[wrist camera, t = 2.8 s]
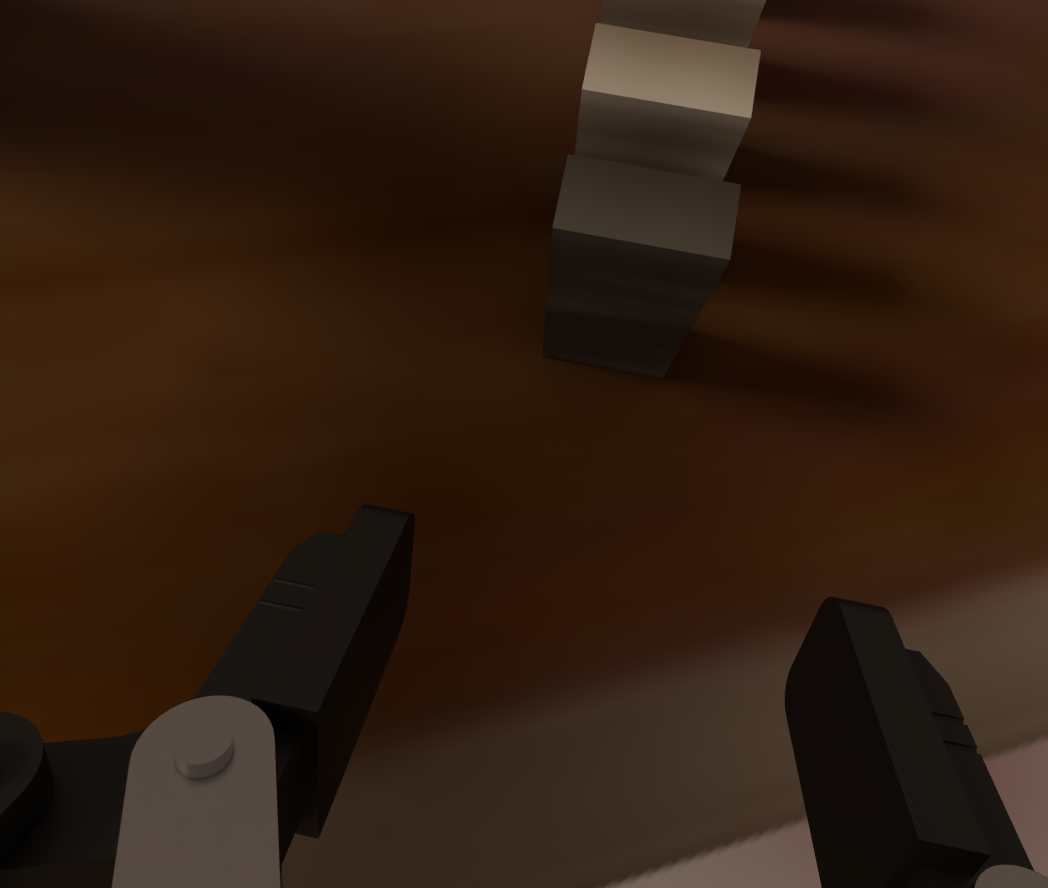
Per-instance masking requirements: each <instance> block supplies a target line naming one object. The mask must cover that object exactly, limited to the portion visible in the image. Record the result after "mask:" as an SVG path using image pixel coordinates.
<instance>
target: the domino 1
mask: <svg viewBox="0 0 1048 888" xmlns="http://www.w3.org/2000/svg"><path fill="white" fill-rule="evenodd" d="M765 2H766V0H604V3H603V10H602V18H601V24H606V25H612V26H618V27H624V28H630V29H636V30H642V31H648V32H654V33H660V34H666V35H672V36H678V37H684V38H689V39H695V40H701V41H707V42H713V43H719V44H725V45H731V46H737V47H743V48H748V46H749V43H750V40H751V38H752V35H753V33H754V30H755V28H756V25H757V23H758V20H759V17H760V15H761V12H762V10H763V7H764V5H765Z"/></svg>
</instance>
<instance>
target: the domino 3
mask: <svg viewBox="0 0 1048 888" xmlns="http://www.w3.org/2000/svg"><path fill="white" fill-rule="evenodd" d="M740 190H741V184H736V183H730V182H724V181H718V180H713V179H707V178H701V177H696V176H690V175H684V174H679V173H673V172H667V171H662V170H656V169H650V168H645V167H639V166H633V165H628V164H622V163H616V162H611V161H605V160H599V159H594V158H588V157H582V156H576V155H571V154H568V156H567V161H566V166H565V171H564V175H563V180H562V185H561V189H560V194H559V199H558V203H557V208H556V213H555V218H554V222H553V227H552V239H551V252H550V266H549V279H548V292H547V306H546V319H545V332H544V346H543V356H544V357H550V358H555V359H560V360H566V361H571V362H576V363H581V364H587V365H592V366H597V367H603V368H608V369H613V370H618V371H624V372H629V373H634V374H640V375H645V376H650V377H655V378H661V379H663V378H664V376H665V374H666V372H667V371H668V369H669V367H670V365H671V364H672V362H673V360H674V358H675V357H676V355H677V353H678V351H679V350H680V348H681V346H682V344H683V342H684V341H685V339H686V337H687V335H688V334H689V332H690V330H691V328H692V327H693V325H694V323H695V321H696V320H697V318H698V316H699V314H700V313H701V311H702V309H703V307H704V305H705V304H706V302H707V300H708V298H709V297H710V295H711V293H712V291H713V290H714V288H715V286H716V284H717V283H718V281H719V279H720V277H721V276H722V274H723V272H724V270H725V268H726V267H727V265H728V263H729V261H730V259H731V252H732V245H733V238H734V231H735V224H736V218H737V211H738V204H739V197H740Z"/></svg>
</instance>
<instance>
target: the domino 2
mask: <svg viewBox="0 0 1048 888" xmlns="http://www.w3.org/2000/svg"><path fill="white" fill-rule="evenodd" d="M760 53H761V50H755V49H749V48H743V47H737V46H731V45H725V44H719V43H713V42H707V41H701V40H695V39H689V38H684V37H678V36H672V35H666V34H660V33H654V32H648V31H642V30H636V29H630V28H624V27H618V26H612V25H606V24H600V23H596V25H595V30H594V35H593V39H592V44H591V49H590V53H589V58H588V63H587V68H586V72H585V77H584V82H583V86H582V93H581V102H580V111H579V120H578V129H577V138H576V147H575V155H576V156H582V157H588V158H594V159H599V160H605V161H611V162H616V163H622V164H628V165H633V166H639V167H645V168H650V169H656V170H662V171H667V172H673V173H679V174H684V175H690V176H696V177H701V178H707V179H713V180H718V181H723V179H724V177H725V175H726V173H727V171H728V168H729V166H730V164H731V162H732V159H733V157H734V155H735V153H736V151H737V148H738V146H739V144H740V142H741V139H742V137H743V135H744V133H745V130H746V128H747V126H748V124H749V122H750V119H751V115H752V108H753V101H754V94H755V87H756V80H757V73H758V66H759V60H760Z"/></svg>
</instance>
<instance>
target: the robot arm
mask: <svg viewBox="0 0 1048 888" xmlns="http://www.w3.org/2000/svg"><path fill="white" fill-rule="evenodd" d="M414 526H415V518H414V514H412V513H407V512H402V511H397V510H393V509H388V508H383V507H378V506H373V505H368V504H364V505H362V506H361V507H360V509H359V511H358V512H357V514H356V516H355V518H354V519H353V521H352V523H351V525H350V526H349V528H348V530H347V531H346V533H345V535H344V536H343V535H338V534H333V533H328V532H323V531H319V532H318V533H316V534H315V535H313V536H312V537H311V538H309V539H308V540H306V541H305V542H303V543H302V544H300V545H299V546H297V547H296V548H294V549H293V550H292V551H291V552H290V554H289V555H288V557H287V558H286V560H285V561H284V563H283V564H282V566H281V567H280V569H279V570H278V572H277V573H276V575H275V576H274V581H273V583H272V582H270V584H269V586H268V587H267V589H266V590H265V592H264V593H263V595H262V596H261V598H260V601H259V604H258V605H255V607H254V608H253V610H252V611H251V613H250V614H249V616H248V618H247V619H246V621H245V622H244V624H243V625H242V627H241V628H240V630H239V631H238V633H237V634H236V636H235V637H234V639H233V640H232V642H231V643H230V645H229V646H228V648H227V650H226V651H225V653H224V654H223V656H222V657H221V659H220V660H219V662H218V663H217V665H216V666H215V668H214V669H213V671H212V672H211V674H210V675H209V677H208V678H207V680H206V682H205V683H204V685H203V686H202V688H201V689H200V690H199V692H198V693H197V694H196V696H195V697H194V698H193V699H192V700H190V701H187V702H184V703H182V704H180V705H178V706H176V707H174V708H172V709H170V710H169V711H167V712H165V713H164V714H162V715H161V716H160V717H158V718H157V719H156V720H155V721H154V722H152V723H151V724H150V726H149V727H148V728H147V729H145V730H142V731H139V732H136V733H132V734H128V735H125V736H118V737H111V738H101V739H88V740H76V741H64V742H52V743H43V741H42V738H41V735H40V733H39V731H38V729H37V728H36V726H35V725H33V724H32V723H31V722H30V721H29V720H27V719H25V718H23V717H21V716H19V715H15V714H11V713H6V712H0V888H283V883H282V862H283V860H284V858H285V855H286V853H287V851H288V848H289V846H290V844H291V841H292V839H293V837H294V834H300V835H304V836H309V837H313V838H318V839H319V836H320V834H321V831H322V829H323V826H324V824H325V821H326V818H327V816H328V813H329V811H330V808H331V806H332V803H333V801H334V798H335V796H336V793H337V790H338V788H339V785H340V783H341V780H342V778H343V775H344V773H345V770H346V768H347V765H348V763H349V760H350V757H351V755H352V752H353V750H354V747H355V745H356V742H357V740H358V737H359V735H360V732H361V729H362V727H363V724H364V722H365V719H366V717H367V714H368V712H369V709H370V707H371V704H372V701H373V699H374V696H375V694H376V691H377V689H378V686H379V684H380V681H381V679H382V676H383V674H384V671H385V668H386V666H387V663H388V661H389V658H390V656H391V653H392V651H393V648H394V646H395V643H396V640H397V638H398V635H399V633H400V630H401V627H402V623H403V620H404V616H405V612H406V608H407V603H408V597H409V588H410V576H411V564H412V551H413V539H414ZM785 711H786V717H787V721H788V726H789V731H790V736H791V741H792V746H793V750H794V755H795V760H796V765H797V770H798V775H799V780H800V784H801V789H802V794H803V799H804V804H805V809H806V813H807V818H808V823H809V828H810V833H811V838H812V842H813V847H814V852H815V857H816V862H817V867H818V871H819V876H820V881H821V886H822V888H1048V877H1046V876H1044V875H1042V874H1039V873H1038V872H1035V871H1034V869H1033V867H1032V865H1031V863H1030V861H1029V859H1028V857H1027V854H1026V852H1025V850H1024V848H1023V846H1022V844H1021V842H1020V839H1019V837H1018V835H1017V833H1016V830H1015V828H1014V826H1013V824H1012V822H1011V820H1010V818H1009V815H1008V813H1007V811H1006V809H1005V807H1004V804H1003V802H1002V800H1001V798H1000V796H999V794H998V791H997V789H996V787H995V785H994V783H993V780H992V778H991V776H990V774H989V772H988V770H987V767H986V765H985V763H984V761H983V759H982V756H981V755H980V754H977V752H976V749H977V746H976V743H975V741H974V739H973V737H972V735H971V732H970V730H969V728H968V726H967V725H964V724H963V720H964V717H963V715H962V713H961V711H960V709H959V706H958V704H957V702H956V700H955V698H954V695H953V693H952V691H951V689H950V687H949V685H948V683H947V682H946V681H945V680H944V679H943V678H942V676H941V675H940V674H939V673H938V672H937V671H936V670H935V669H934V667H933V666H932V665H931V664H930V663H929V662H928V661H927V659H926V658H925V657H924V656H923V655H922V654H921V653H920V652H918V651H913V650H908V649H905V647H904V645H903V642H902V640H901V638H900V635H899V633H898V630H897V628H896V626H895V623H894V621H893V618H892V616H891V614H890V613H889V611H888V610H887V609H885V608H883V607H880V606H875V605H870V604H865V603H860V602H855V601H850V600H845V599H840V598H835V597H829V598H827V599H826V600H825V601H824V602H823V603H822V604H821V606H820V608H819V610H818V612H817V614H816V616H815V618H814V621H813V623H812V625H811V627H810V629H809V631H808V633H807V635H806V637H805V639H804V641H803V643H802V646H801V648H800V650H799V652H798V654H797V656H796V658H795V660H794V662H793V664H792V666H791V669H790V671H789V674H788V678H787V683H786V690H785Z"/></svg>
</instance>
